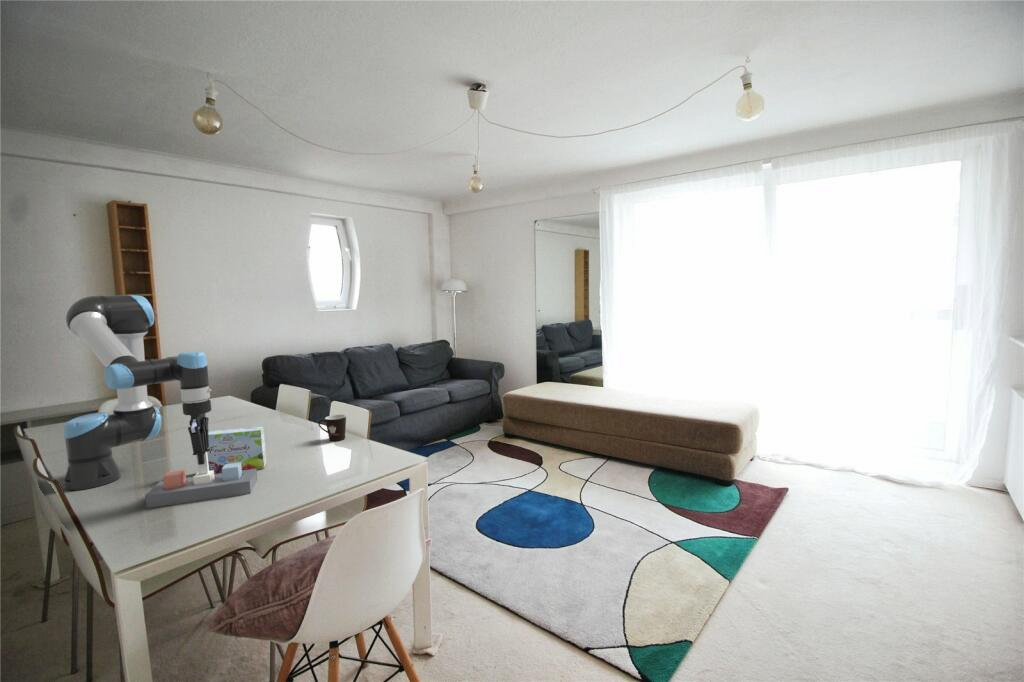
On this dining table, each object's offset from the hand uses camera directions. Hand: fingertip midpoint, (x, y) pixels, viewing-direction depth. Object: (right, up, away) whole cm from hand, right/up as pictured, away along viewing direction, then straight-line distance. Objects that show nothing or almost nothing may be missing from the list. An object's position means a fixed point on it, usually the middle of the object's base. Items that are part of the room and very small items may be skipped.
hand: (203, 472), depth 155 cm
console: (0, -7, +1) cm, 7 cm away
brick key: (-8, -4, -2) cm, 9 cm away
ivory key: (0, -5, +1) cm, 5 cm away
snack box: (-2, -5, +21) cm, 22 cm away
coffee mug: (+22, -1, +56) cm, 60 cm away
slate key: (+8, -3, +3) cm, 9 cm away
